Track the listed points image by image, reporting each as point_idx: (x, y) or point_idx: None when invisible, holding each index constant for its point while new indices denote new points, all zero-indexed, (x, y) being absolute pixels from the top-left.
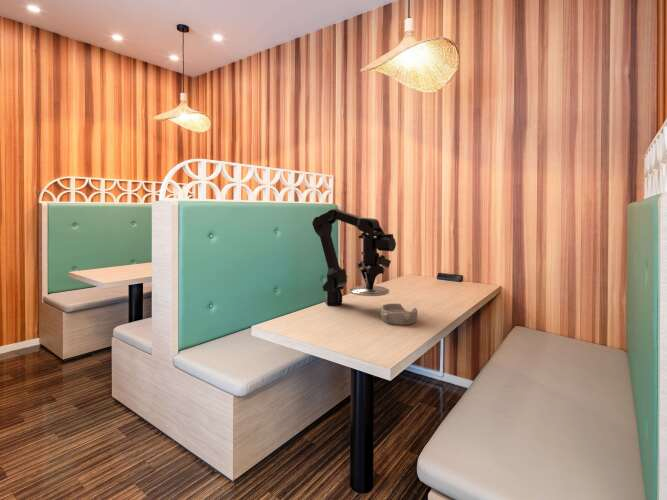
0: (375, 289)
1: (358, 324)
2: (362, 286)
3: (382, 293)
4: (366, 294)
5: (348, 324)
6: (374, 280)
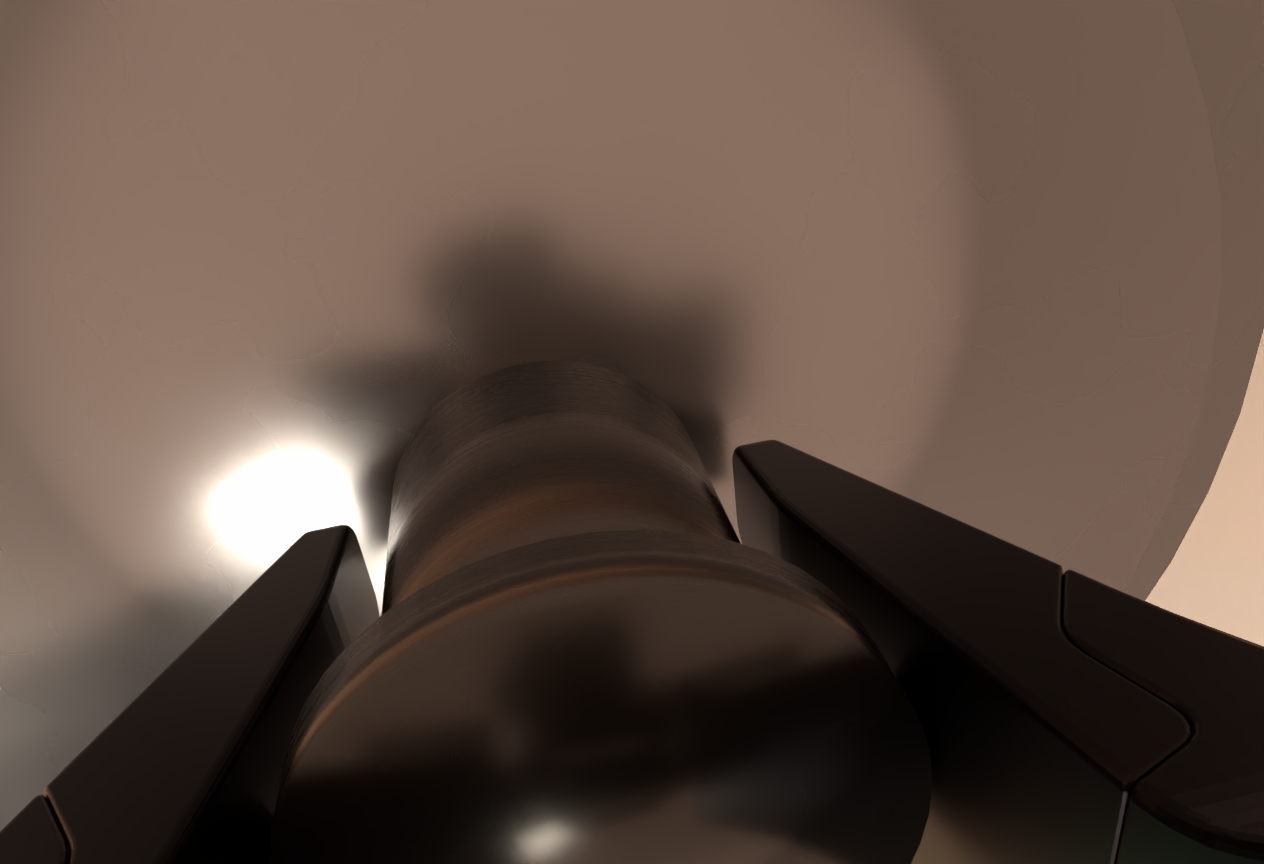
0: (740, 285)
1: (1249, 475)
2: (95, 728)
3: (1262, 52)
4: (1137, 583)
5: (1200, 593)
6: (1118, 605)
